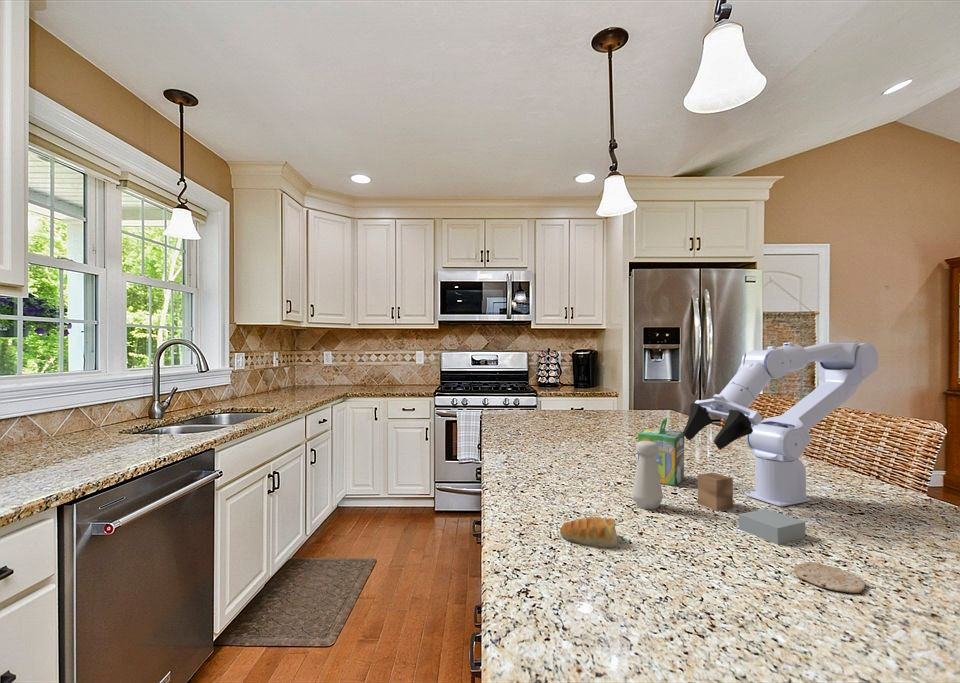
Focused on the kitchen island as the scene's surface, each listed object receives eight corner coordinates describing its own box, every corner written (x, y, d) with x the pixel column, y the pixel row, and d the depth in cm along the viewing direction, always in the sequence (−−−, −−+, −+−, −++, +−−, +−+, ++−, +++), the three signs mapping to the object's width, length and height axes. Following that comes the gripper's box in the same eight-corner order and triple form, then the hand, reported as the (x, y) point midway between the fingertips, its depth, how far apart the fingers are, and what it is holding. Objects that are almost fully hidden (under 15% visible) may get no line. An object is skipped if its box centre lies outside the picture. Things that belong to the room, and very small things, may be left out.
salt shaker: (665, 512, 90) (664, 445, 91) (634, 510, 91) (634, 444, 92) (659, 502, 96) (659, 439, 96) (630, 500, 97) (630, 438, 97)
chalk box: (647, 472, 120) (647, 414, 120) (685, 478, 114) (685, 417, 114) (636, 480, 112) (635, 419, 112) (676, 487, 107) (676, 422, 107)
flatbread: (781, 573, 66) (781, 566, 66) (815, 563, 69) (815, 556, 69) (845, 601, 59) (845, 594, 59) (879, 589, 62) (879, 581, 62)
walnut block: (713, 501, 97) (713, 472, 97) (732, 508, 93) (732, 478, 93) (697, 503, 95) (697, 474, 95) (716, 510, 91) (716, 480, 91)
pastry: (559, 545, 75) (559, 522, 76) (560, 530, 82) (560, 508, 82) (619, 550, 74) (619, 526, 74) (615, 534, 80) (615, 512, 80)
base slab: (765, 525, 85) (765, 508, 85) (805, 539, 78) (805, 521, 78) (738, 531, 82) (738, 514, 82) (777, 546, 75) (777, 528, 75)
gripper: (701, 375, 101) (664, 419, 98) (763, 383, 87) (722, 435, 84) (717, 398, 103) (680, 442, 99) (780, 410, 89) (740, 461, 86)
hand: (701, 440), depth 92 cm, fingers open, 7 cm apart
